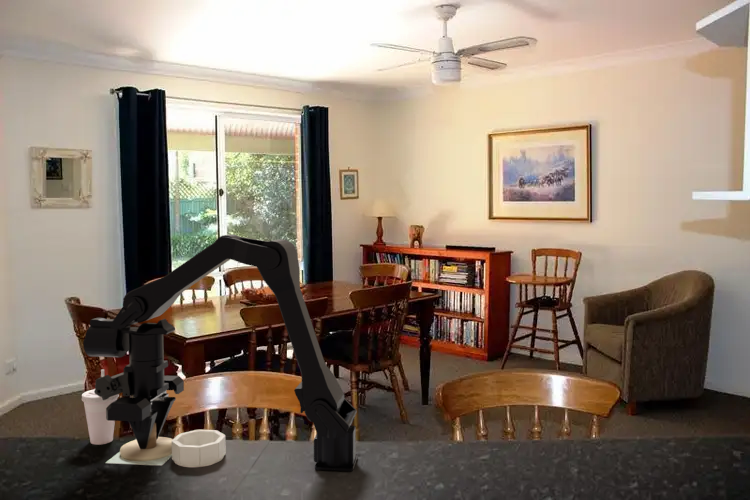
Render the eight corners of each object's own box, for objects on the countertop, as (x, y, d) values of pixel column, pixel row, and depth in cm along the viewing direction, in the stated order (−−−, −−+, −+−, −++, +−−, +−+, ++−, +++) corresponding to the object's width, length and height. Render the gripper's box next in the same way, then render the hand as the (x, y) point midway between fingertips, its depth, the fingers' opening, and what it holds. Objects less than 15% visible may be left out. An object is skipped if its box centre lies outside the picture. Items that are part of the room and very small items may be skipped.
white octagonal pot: (230, 452, 118) (230, 430, 117) (214, 471, 109) (214, 447, 109) (185, 450, 118) (184, 429, 118) (165, 469, 110) (165, 446, 110)
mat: (188, 442, 122) (188, 439, 122) (161, 468, 110) (161, 465, 110) (137, 440, 123) (137, 437, 123) (105, 466, 111) (105, 462, 111)
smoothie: (111, 450, 119) (109, 374, 118) (76, 449, 119) (74, 374, 118) (125, 437, 125) (123, 365, 124) (92, 437, 125) (90, 365, 124)
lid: (185, 442, 121) (184, 416, 121) (163, 462, 112) (162, 435, 111) (135, 439, 122) (135, 414, 122) (109, 460, 112) (109, 432, 112)
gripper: (128, 345, 126) (130, 425, 127) (74, 370, 107) (77, 462, 108) (184, 346, 125) (185, 427, 126) (139, 371, 106) (141, 465, 107)
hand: (148, 444), depth 117 cm, fingers open, 4 cm apart
